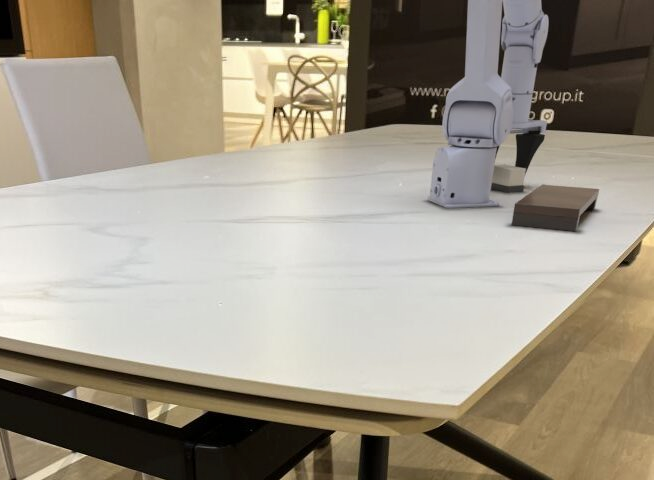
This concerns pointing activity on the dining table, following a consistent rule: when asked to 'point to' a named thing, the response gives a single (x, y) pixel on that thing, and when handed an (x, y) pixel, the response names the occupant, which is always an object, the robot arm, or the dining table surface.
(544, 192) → the low wooden riser
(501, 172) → the beige cube on base
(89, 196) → the dining table surface
